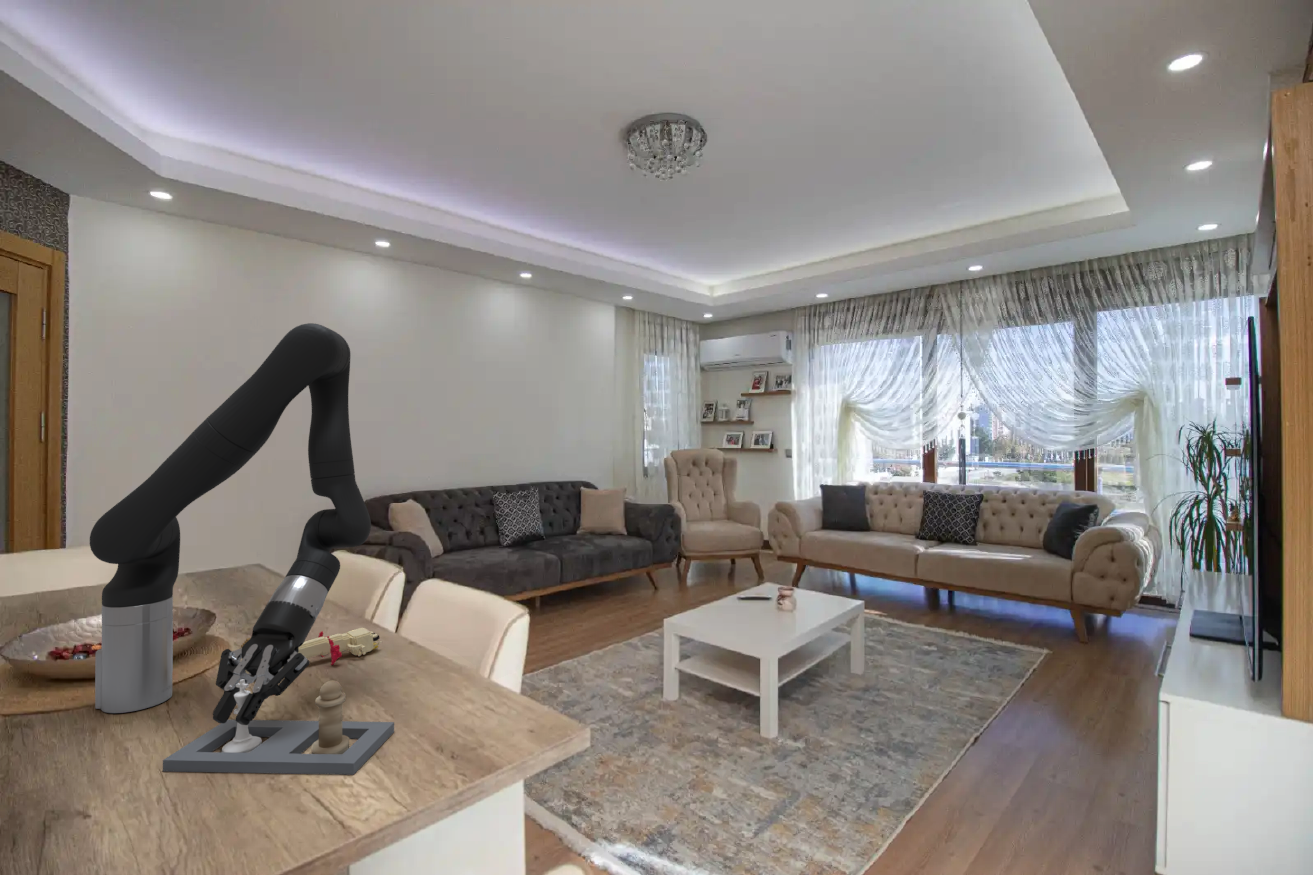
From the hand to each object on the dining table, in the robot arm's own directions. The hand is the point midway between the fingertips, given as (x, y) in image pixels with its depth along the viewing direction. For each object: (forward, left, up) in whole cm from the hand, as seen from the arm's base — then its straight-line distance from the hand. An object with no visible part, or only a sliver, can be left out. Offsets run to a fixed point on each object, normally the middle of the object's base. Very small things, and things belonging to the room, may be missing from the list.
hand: (230, 721), depth 87 cm
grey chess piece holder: (+7, +2, -5) cm, 9 cm away
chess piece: (0, +2, -5) cm, 6 cm away
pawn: (+13, +2, -5) cm, 14 cm away
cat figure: (-9, +36, -5) cm, 37 cm away
